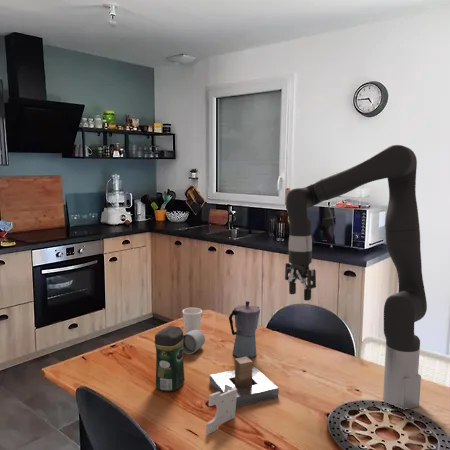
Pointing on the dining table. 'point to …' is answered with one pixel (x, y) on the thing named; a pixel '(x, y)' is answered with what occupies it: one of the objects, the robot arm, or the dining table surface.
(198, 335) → the ceramic mug
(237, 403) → the square hole plate
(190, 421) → the dining table surface
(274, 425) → the dining table surface
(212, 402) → the bracket
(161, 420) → the dining table surface
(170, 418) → the dining table surface
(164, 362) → the coffee jar
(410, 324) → the robot arm
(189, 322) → the dixie cup
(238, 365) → the tan square peg
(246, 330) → the moka pot
